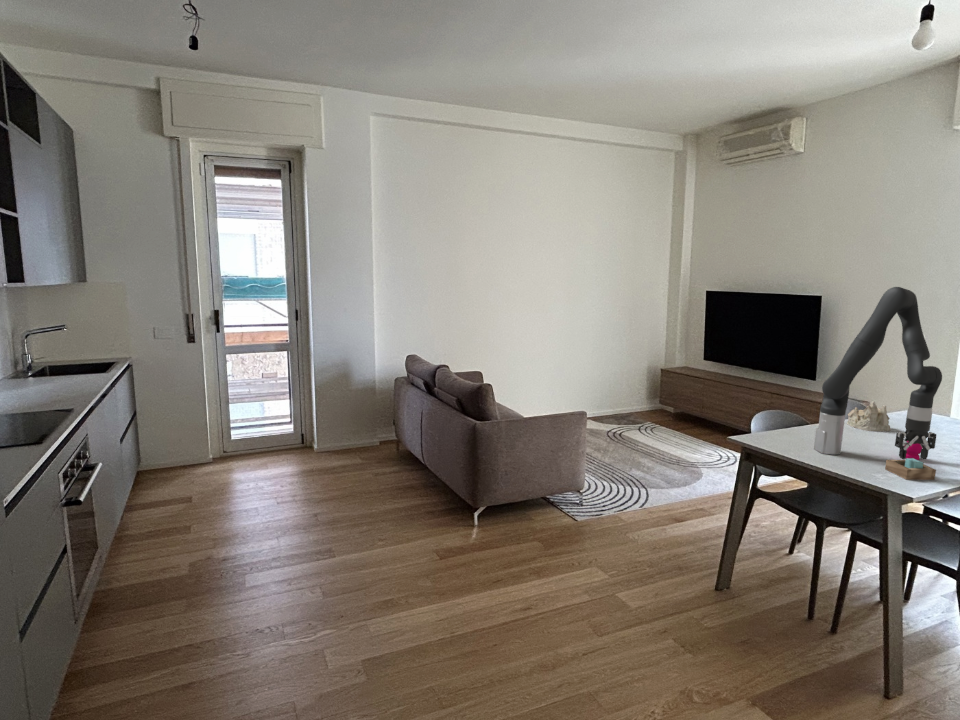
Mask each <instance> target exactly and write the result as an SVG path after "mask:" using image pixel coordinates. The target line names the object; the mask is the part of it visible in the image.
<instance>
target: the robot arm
mask: <svg viewBox="0 0 960 720" xmlns="http://www.w3.org/2000/svg"><path fill="white" fill-rule="evenodd" d="M896 314H897V316H898V317H899V320H900V323H901V328H902V329H901V330H902V333H901V337H902V338H901V339H902V345H903V349H904V352H905V355H906V358H907V361H906V362H907V363H906V365H907V366H906V371H907V372H906V373H907V375H906V376H907V378H908V380H909V381H910V382H911V383H912V384H914V385H916V386H919V388H918V389H915V390H912V391H911V393H910V397H909V403H908V408H907V412H906V416H905V417H906V419H905V425H904V427H905V431H904V432H900V431H897V432H896V435H895V441H894V446H895V447H896V448H899V452H898V457H899V458H900V459H901V460H906V453H907V450H906V449H907V448H908V447H909V446H911V445H912V444H917V443H918V444H920V445H921V446H922V449H921V453H920V454H919V456H920V459H921V460H927V458H928V457H929V450H934V449H935V448H936V442H937V441H936V440H937V434H936V433H935V432H932V431H930V429H931V425H932V424H931V423H932V416H933V405H934V398H935V395H936V394H937V392H938V390H939V388H940V385H941V383H942V382H943V381H942V380H943V373H942V370H940V368H939V367H937V366H933V365H928V366H927V365H925V366H924V361H926V360H928V359H930V356H931V353H930V350H929V347H928V345H927V341H926V338H925V334H924V332H923V329H922V328H923V327H922V325H921V320H920V312H919V305H918V299H917V295H916V293H914V292H913V291H912V290H909V289H907V288H904V287H901V286H893V287H890V288H889V289H887V290H886V291H885V292H884V293H883V294H882V295H881V298H880V299H879V301H878V302H877V304H876V306H875V308H874V310H873V312H872V314H871V315H870V317H869V318H868V320H867V321H866V322H865V324H864V325H863V327H862V328H861V330H860V331H859V332H858V333H857V335H856V337H855V338H854V339H853V341H852V342H851V343H850V345H849V347H848V348H847V350H846V351H845V354H844V355H843V357H842V359H841V361H840V362H839V364H838V366H837V367H836V369H834V371H833V372H832V373H831V374H830V376H829V377H828V378H826V379H825V380H824V382H823V383H822V386H821V387H822V388H821V390H822V394H823V397H822V401H821V404H820V412H819V419H818V420H819V421H818V427H815V434H814V435H815V436H814V443H813V450H814V451H816V452H819V453H821V454H825V455H826V454H827V455H833V456H834V455H840V454H841V453H842V445H843V444H842V443H843V436H844V430H845V429H844V428H845V420H846V412H847V408H848V403H849V395H850V385H851V384H852V383H853V381H854V379H855V378H856V376H857V375H858V374H859V373H860V371H861V370H862V369H863V368H864V367H865V366H867V364H869V362H870V361H871V360H872V359H873V357H874V356H875V355H876V353H878V351H879V350H880V348H881V346H882V345H883V343H884V340H885V337H886V333H887V328H888V326H889V324H890V322H891V321H892V319H893V318H894V317H895V316H896ZM907 441H908V442H907Z"/></svg>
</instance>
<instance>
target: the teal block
mask: <svg viewBox="0 0 960 720" xmlns="http://www.w3.org/2000/svg"><path fill="white" fill-rule="evenodd" d="M904 460H905V467H907V468H923V464H924V462H923V461H920V460H916V459H914V458H906V459H904Z"/></svg>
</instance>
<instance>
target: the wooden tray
mask: <svg viewBox="0 0 960 720" xmlns="http://www.w3.org/2000/svg"><path fill="white" fill-rule="evenodd" d="M905 460H906V459H886V461H885V471H888V472H890V473H893V474H894V475H896V476H898V477H900V478H902V479H903V480H907V481H908V480H909V481H910V480H912V481H917V480H918V481H923V480H924V481H928V480H929V481H934V480H935V479H936V473H937V469H935V468H933V467H931V466H929V465H926V464H924V463H923V468H907V467H905Z"/></svg>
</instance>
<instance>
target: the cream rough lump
mask: <svg viewBox="0 0 960 720" xmlns="http://www.w3.org/2000/svg"><path fill="white" fill-rule="evenodd" d="M887 412H888V411H887V405H885V404H882V406H881V408H879V407H877V404H876V402H875V401H873V400H872V401H871V403H870V405H867V406H866V407H865V408H864V409H859V408H858V407H854V409H852V410H850V411H849V413H847V416H848V418H847V419H848V420H847V422H846V424H847V425H848V426H850V427H852V428H855V429H858V430H861V431H865V432H873V433H874V432H877V433H878V432H890V431H891V430H892V429H891V426H890V425H889V424H890V421H889V420H891V419H890V417H889V415H888V413H887Z"/></svg>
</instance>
